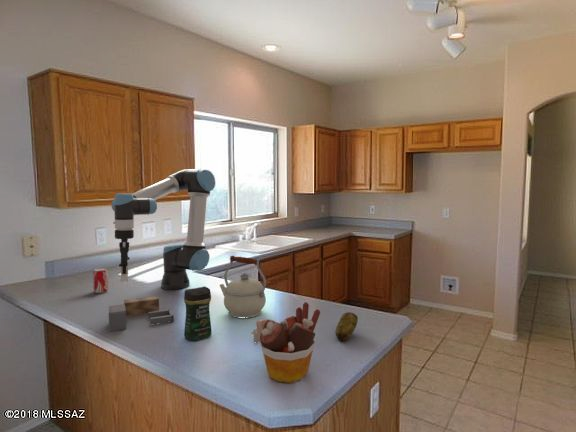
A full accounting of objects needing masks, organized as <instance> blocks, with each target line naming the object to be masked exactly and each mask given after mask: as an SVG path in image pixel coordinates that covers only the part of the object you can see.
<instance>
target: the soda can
mask: <svg viewBox="0 0 576 432" xmlns="http://www.w3.org/2000/svg"><path fill="white" fill-rule="evenodd" d="M92 285H93V287H92V288H93V292H94V293H96V294H104V293H107V292H108V290H109V272H108V271H107V268H104V267H99V268H95V269H94V270H93V272H92Z"/></svg>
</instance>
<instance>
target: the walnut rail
mask: <svg viewBox="0 0 576 432" xmlns="http://www.w3.org/2000/svg"><path fill="white" fill-rule="evenodd" d="M123 304H125V310H126V317H130V315H132V316H136V315H137V314H139V315H143V314H144V313H146V314H148V312H153V311H160V298H159V296H158V295H154V296H148V297H141V298H140V297H139V298H132V299H124V300H123ZM144 315H145V314H144Z"/></svg>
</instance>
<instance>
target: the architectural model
mask: <svg viewBox="0 0 576 432" xmlns="http://www.w3.org/2000/svg"><path fill="white" fill-rule="evenodd" d="M250 334H251V335H253V343H254V342H256V343H258V342H260V334H259V331H258V329H257V327H256V328H255V329H254V330H253V331H251V332H250ZM256 343H255V344H256Z"/></svg>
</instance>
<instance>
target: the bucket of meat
mask: <svg viewBox="0 0 576 432" xmlns="http://www.w3.org/2000/svg"><path fill="white" fill-rule="evenodd" d="M309 306H310V305H309V303H308V302H306V301H305V302H304V303H303V304H302V307H300V306H298V307H297V308H296V310H295V316H294V315H292V316H287V317H286V318H285V319H283V320H281V321H280V322H278V321H275V320H273V319H258V320H256V322H255V323H256V324H255V325H256V328H257V329H258V331H259V334H260V343H259V344H260V345H261V350H262V353H263V357H264V363H265V366H266V370H267V374H268V377H270V378H271V379H272V378H273V379H272V380H274V381H276V382H278V383H282V382H286V383H285V384H292V382H293V383H296V382H295V381H297V382H299V380H300V381H301V380H302V379H303V378H304V377H305V376H306V374H308V372H309V368H310V364H311V360H312V355H313V352H314V347H315V343H316V341H315V336H316V333H315V332H314V331H315V328H316V325H317V323H318V320H319V317H320V315H321V311H320V309H315V310H314V312H313V314H312V316H311V319H310V320H309Z"/></svg>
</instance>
